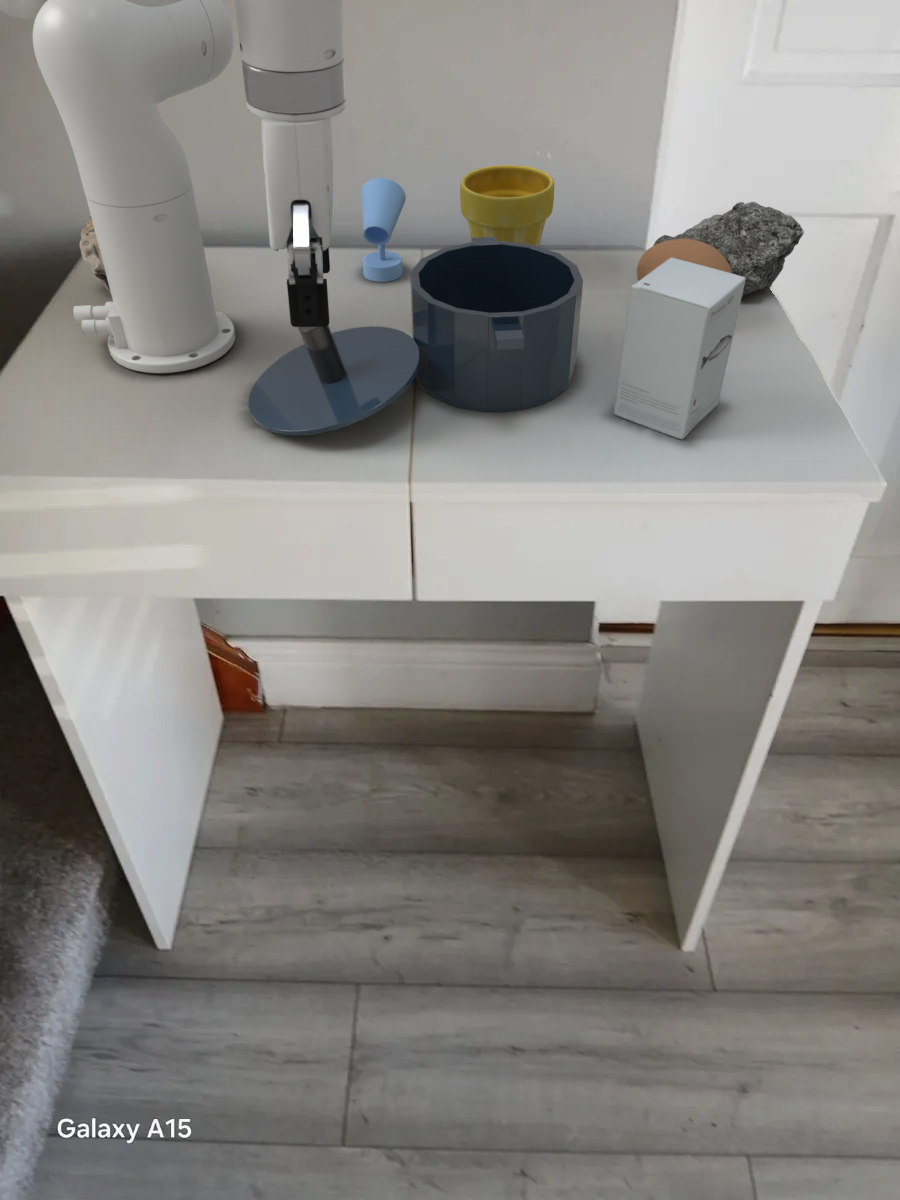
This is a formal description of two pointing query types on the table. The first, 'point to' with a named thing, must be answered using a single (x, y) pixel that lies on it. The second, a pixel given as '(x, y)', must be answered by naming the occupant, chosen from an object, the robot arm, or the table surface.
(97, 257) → the rock
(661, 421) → the white packaging box
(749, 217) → the rock
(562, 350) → the pot
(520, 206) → the flower pot
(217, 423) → the table surface
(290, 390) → the pot lid
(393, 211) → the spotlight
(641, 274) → the egg
